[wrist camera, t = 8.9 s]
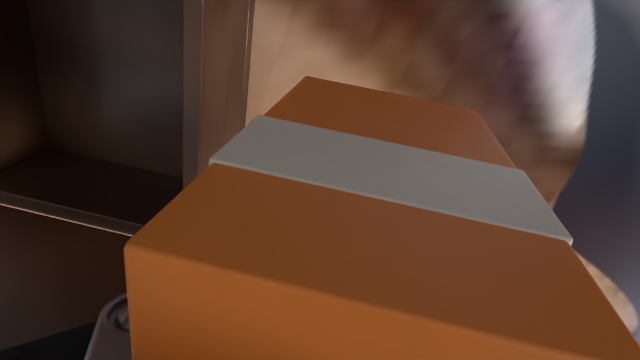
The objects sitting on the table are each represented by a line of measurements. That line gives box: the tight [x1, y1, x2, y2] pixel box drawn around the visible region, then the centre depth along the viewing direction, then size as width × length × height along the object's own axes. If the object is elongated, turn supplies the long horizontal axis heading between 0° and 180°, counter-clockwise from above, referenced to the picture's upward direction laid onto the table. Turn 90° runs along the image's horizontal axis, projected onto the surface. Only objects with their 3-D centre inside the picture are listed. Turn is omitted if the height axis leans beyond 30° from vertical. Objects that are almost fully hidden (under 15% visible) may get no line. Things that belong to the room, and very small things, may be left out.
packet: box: [124, 76, 640, 360], centre depth 11 cm, size 9×6×10 cm
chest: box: [0, 0, 255, 235], centre depth 23 cm, size 14×15×7 cm
